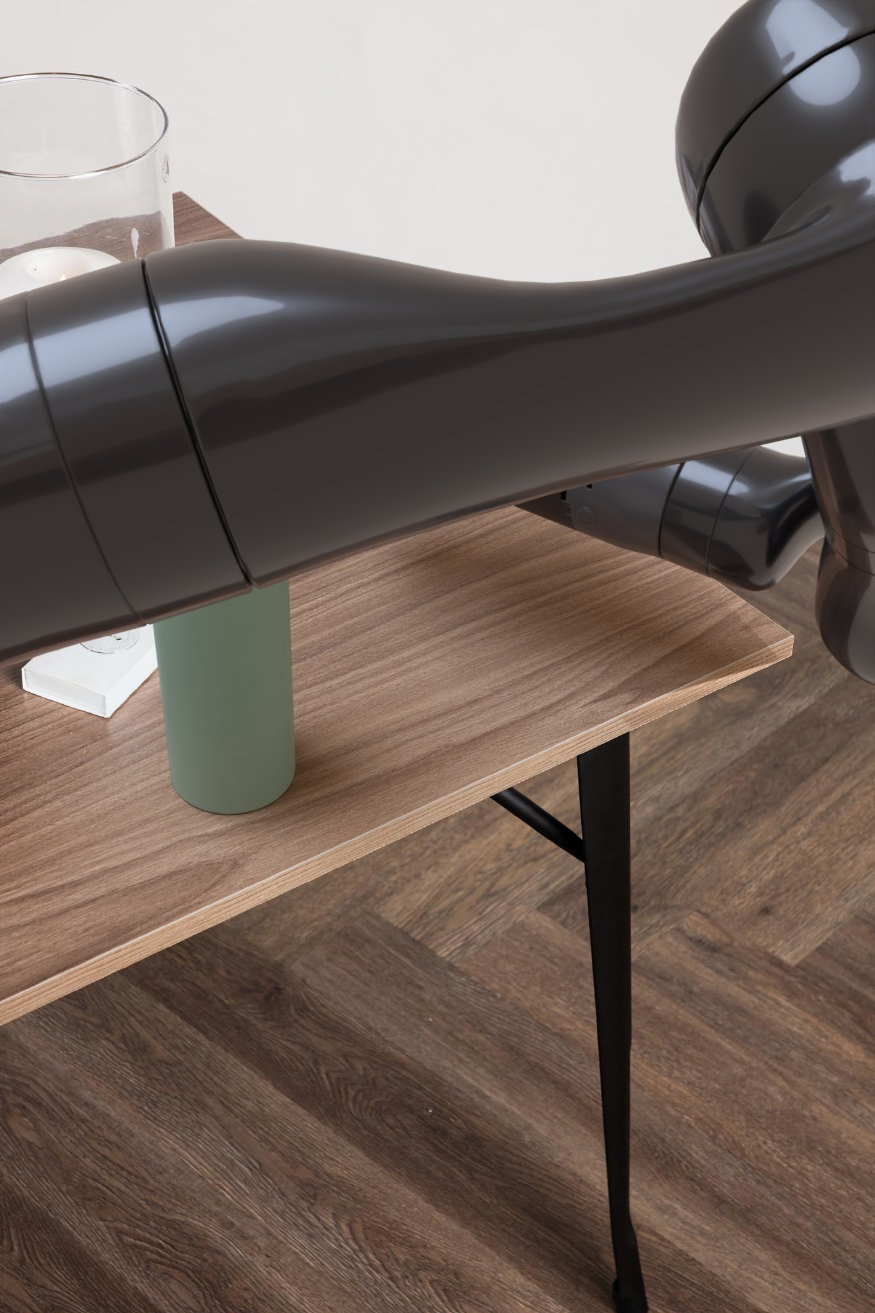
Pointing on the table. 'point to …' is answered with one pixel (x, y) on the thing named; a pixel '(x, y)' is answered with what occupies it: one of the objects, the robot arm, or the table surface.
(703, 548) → the robot arm
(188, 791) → the water bottle
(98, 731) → the table surface
